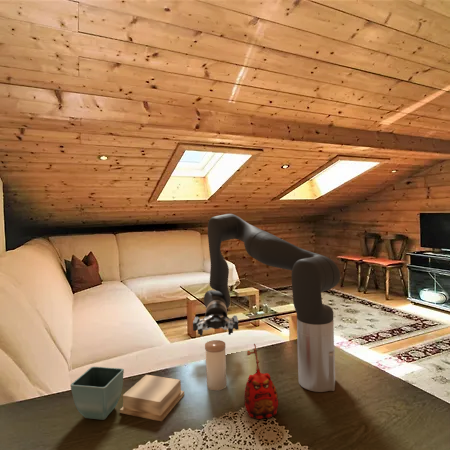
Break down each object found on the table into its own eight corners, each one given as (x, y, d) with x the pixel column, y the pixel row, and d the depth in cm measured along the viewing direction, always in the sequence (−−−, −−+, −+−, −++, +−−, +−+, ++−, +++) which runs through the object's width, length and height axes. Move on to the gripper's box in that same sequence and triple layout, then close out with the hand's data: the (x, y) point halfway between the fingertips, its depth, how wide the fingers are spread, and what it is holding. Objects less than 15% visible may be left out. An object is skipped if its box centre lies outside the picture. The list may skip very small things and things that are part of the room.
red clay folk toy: (249, 424, 73) (246, 356, 72) (241, 405, 80) (239, 343, 79) (282, 418, 75) (280, 352, 74) (271, 400, 82) (269, 340, 81)
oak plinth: (184, 394, 86) (183, 379, 86) (161, 421, 75) (160, 404, 75) (146, 387, 90) (145, 373, 89) (119, 412, 79) (118, 396, 79)
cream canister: (229, 381, 91) (228, 341, 91) (222, 392, 86) (221, 349, 86) (211, 378, 93) (209, 339, 92) (203, 388, 88) (201, 347, 87)
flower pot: (107, 427, 74) (104, 387, 74) (71, 423, 76) (69, 384, 75) (126, 403, 83) (124, 368, 82) (94, 401, 84) (92, 366, 84)
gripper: (195, 303, 116) (190, 320, 100) (236, 302, 116) (238, 319, 100) (196, 324, 117) (191, 345, 101) (237, 323, 117) (239, 343, 101)
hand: (215, 332), depth 100 cm, fingers open, 8 cm apart
